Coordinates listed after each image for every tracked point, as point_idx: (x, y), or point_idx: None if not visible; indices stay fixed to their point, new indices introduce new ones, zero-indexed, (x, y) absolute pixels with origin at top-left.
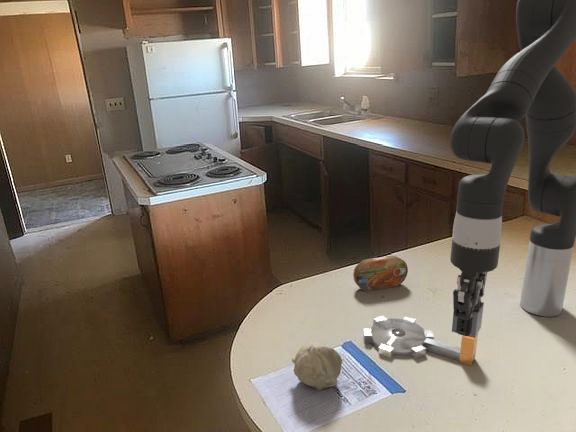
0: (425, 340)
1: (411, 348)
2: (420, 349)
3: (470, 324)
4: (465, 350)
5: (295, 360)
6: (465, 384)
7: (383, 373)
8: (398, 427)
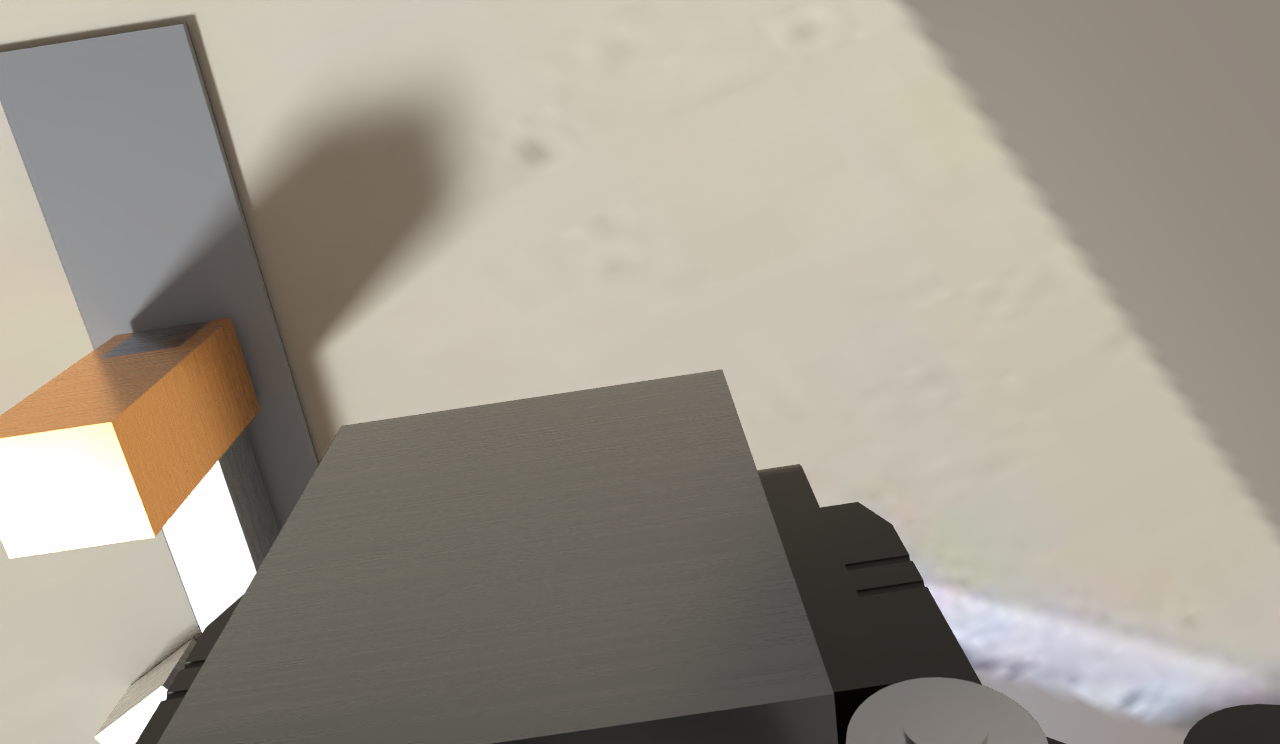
0: None
1: None
2: None
3: (834, 581)
4: (199, 426)
5: None
6: (467, 259)
7: None
8: (1180, 399)
